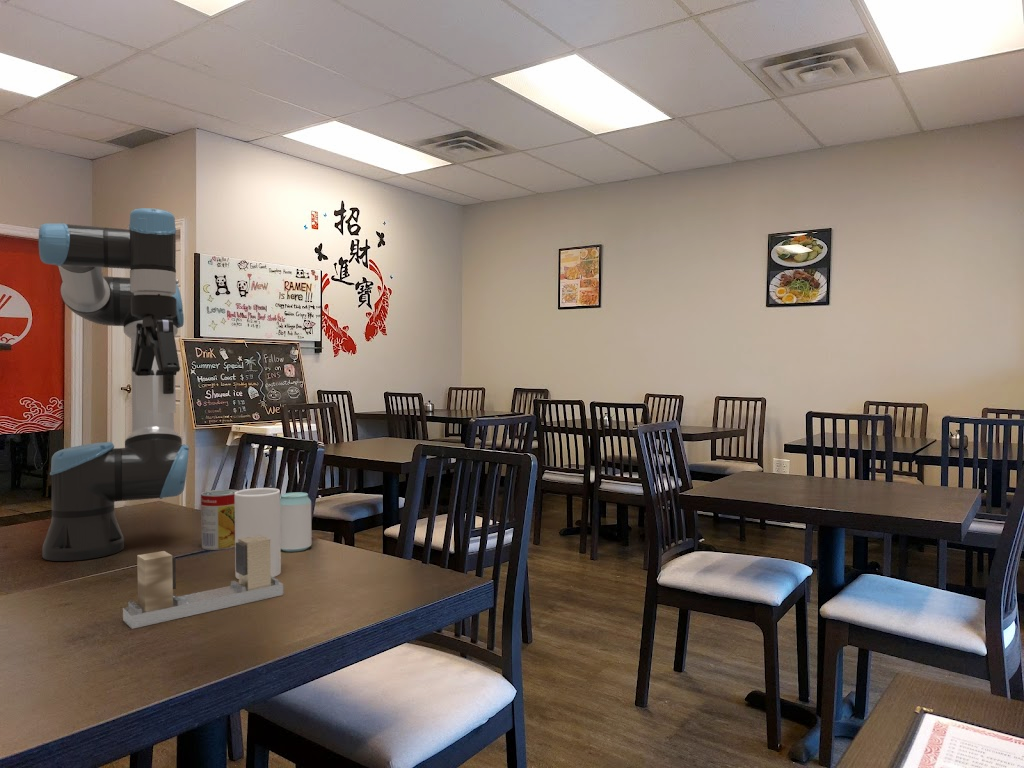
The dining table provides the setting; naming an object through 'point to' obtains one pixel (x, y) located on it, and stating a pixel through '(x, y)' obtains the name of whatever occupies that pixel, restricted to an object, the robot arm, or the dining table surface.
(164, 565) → the block
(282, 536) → the can
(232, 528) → the canned food
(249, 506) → the cup
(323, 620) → the dining table surface
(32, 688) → the dining table surface
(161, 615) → the rail
